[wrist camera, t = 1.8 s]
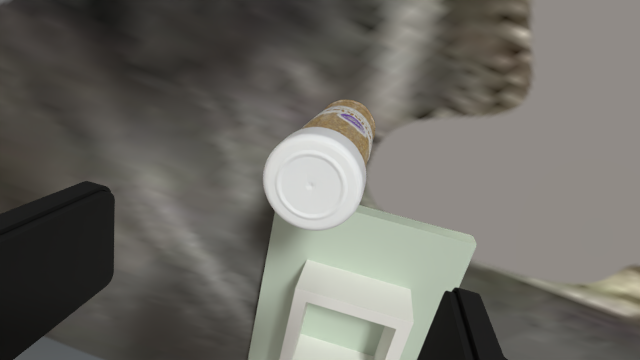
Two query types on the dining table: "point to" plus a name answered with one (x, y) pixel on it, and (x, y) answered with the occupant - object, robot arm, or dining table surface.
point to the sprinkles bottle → (321, 168)
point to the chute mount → (355, 288)
